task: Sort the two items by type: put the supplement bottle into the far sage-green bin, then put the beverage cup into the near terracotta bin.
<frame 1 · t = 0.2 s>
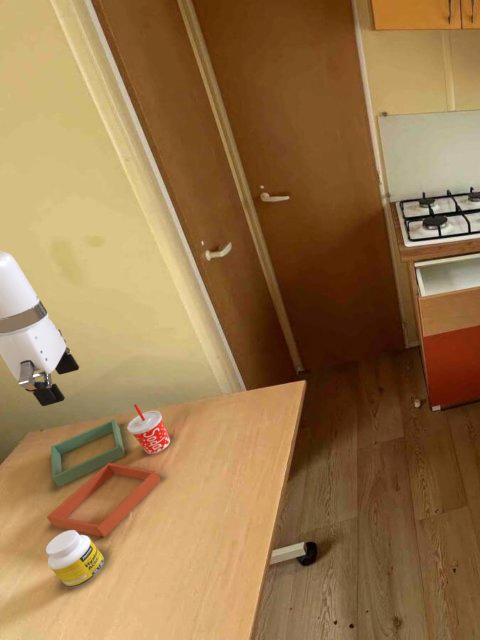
hand: (62, 386, 85), 25 cm above the table, tool pointing down, fingers open, 9 cm apart
beverage cup: (159, 447, 101), on the table
supplement bottle: (87, 572, 77), on the table
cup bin: (111, 503, 88), on the table
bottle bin: (92, 456, 98), on the table
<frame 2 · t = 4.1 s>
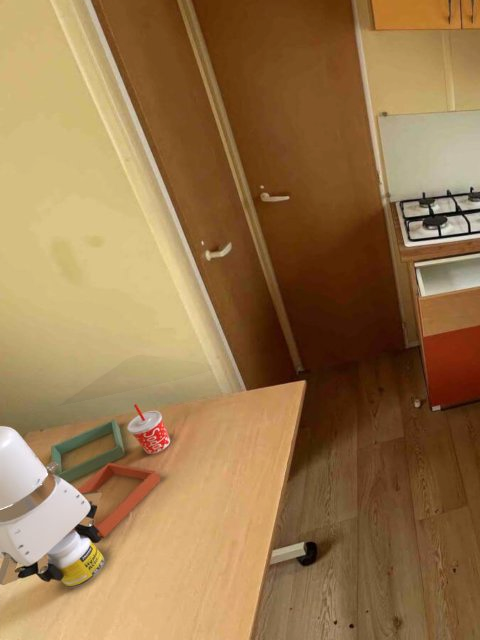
hand: (74, 557, 75), 5 cm above the table, tool pointing down, fingers closed on supplement bottle, 5 cm apart
supplement bottle: (87, 572, 77), on the table, touching gripper
everything else where it was.
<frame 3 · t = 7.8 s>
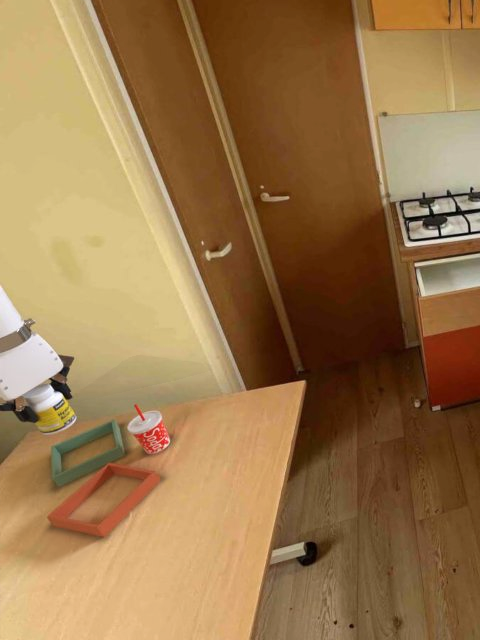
hand: (48, 408, 87), 19 cm above the table, tool pointing down, fingers closed on supplement bottle, 5 cm apart
supplement bottle: (60, 425, 89), point 14 cm above the table, touching gripper
everything else where it was.
when the fingers open (5 cm above the table, at t = 11.7 s): supplement bottle stays where it is, resting on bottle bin.
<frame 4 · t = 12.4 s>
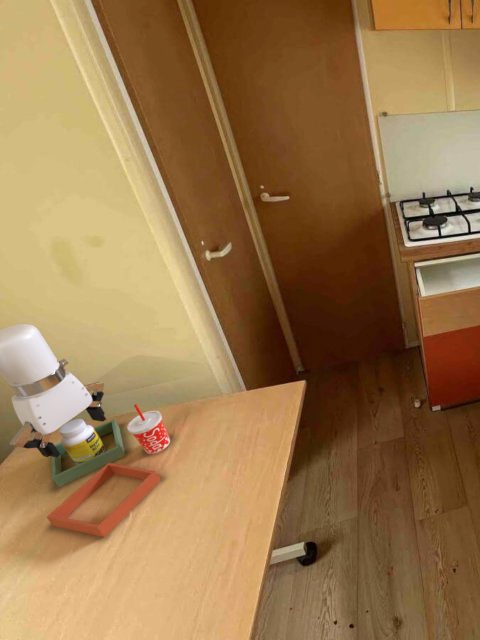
hand: (77, 436, 95), 7 cm above the table, tool pointing down, fingers open, 9 cm apart
supplement bottle: (91, 455, 98), resting on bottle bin
everything else where it was.
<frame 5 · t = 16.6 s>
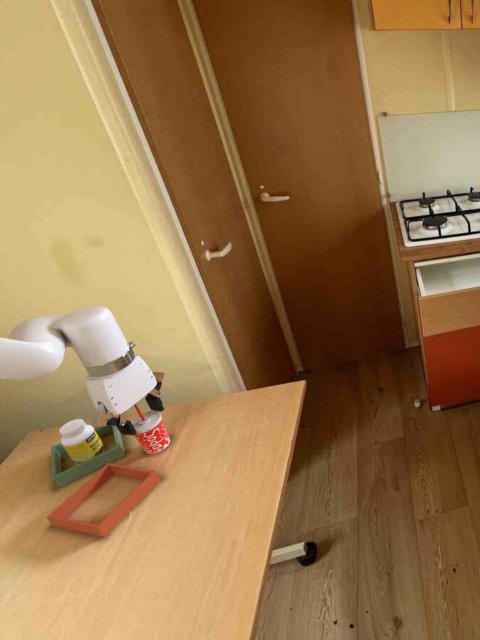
hand: (144, 420, 96), 9 cm above the table, tool pointing down, fingers closed on beverage cup, 6 cm apart
beverage cup: (159, 447, 101), on the table, touching gripper
everything else where it was.
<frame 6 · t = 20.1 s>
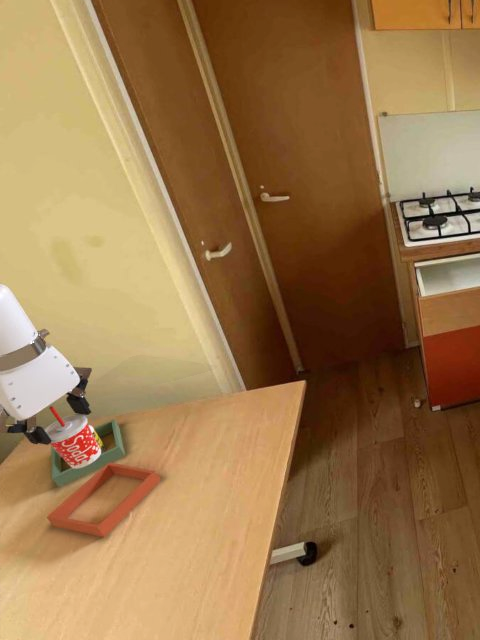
hand: (63, 426, 79), 22 cm above the table, tool pointing down, fingers closed on beverage cup, 6 cm apart
beverage cup: (86, 458, 83), point 13 cm above the table, touching gripper
everything else where it was.
when the fingers open (10 cm above the table, at t = 23.5 s): beverage cup stays where it is, resting on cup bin.
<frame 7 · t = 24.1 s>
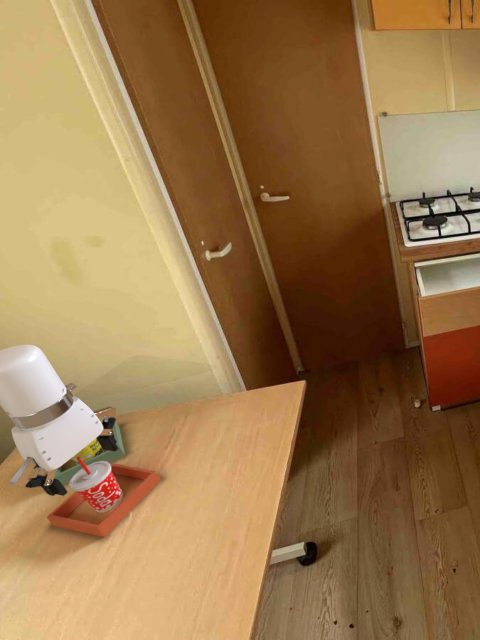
hand: (86, 470, 83), 11 cm above the table, tool pointing down, fingers open, 9 cm apart
beverage cup: (110, 502, 88), resting on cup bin
everything else where it was.
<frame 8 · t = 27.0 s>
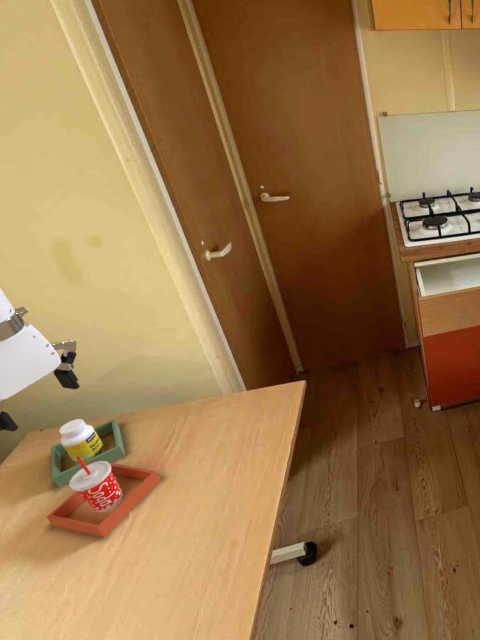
hand: (42, 407, 75), 28 cm above the table, tool pointing down, fingers open, 9 cm apart
nothing on the table moved.
at the end: supplement bottle inside the target area in the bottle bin (0.0 cm from its centre), point 0.4 cm above the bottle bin's base; beverage cup inside the target area in the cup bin (0.0 cm from its centre), point 0.4 cm above the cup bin's base; beverage cup tilted 0° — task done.
